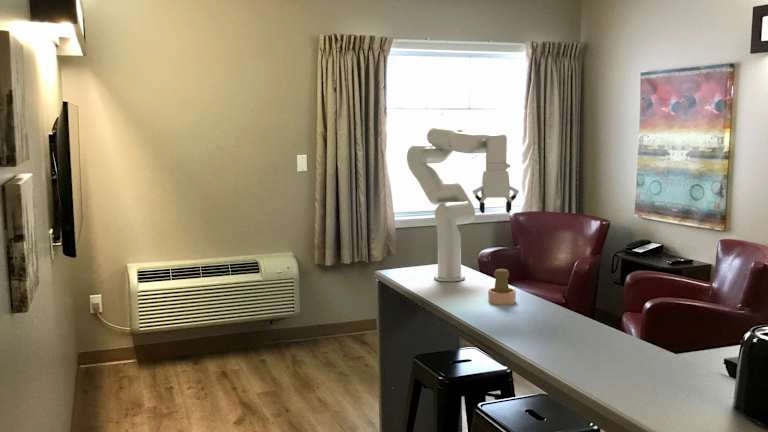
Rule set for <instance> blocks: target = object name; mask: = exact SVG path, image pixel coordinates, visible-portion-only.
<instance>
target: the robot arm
mask: <svg viewBox="0 0 768 432" xmlns="http://www.w3.org/2000/svg"><path fill="white" fill-rule="evenodd" d="M426 139H427V142H428V143H427V142H426V143H425V142H423V143H416V144H414V145H412V146H410V147H409V148H408V149H407V150H408V151H407V154H406V161H407V166H408V168H409V170H410V172H411V174H412V175H413V177H414V178H415V179H416V180H417V182H418V183H419V185H420V187H421V189H422V191H423V193H425V196H426V198H427V200H428V201H429V202H430V203H431V204H432V205H434V206H437V207H436V208H435V210H434V220H435V224H436V230H437V231H436V232H437V274H434V276H433V279H434V280H435V281H439V282H450V283H451V282H460V281H464V280H465V279H466V277H465V276H466V275H464V274H463V273H462V236H461V233H460V230H459V228H458V225H466V224H470V223H472V222H473V221H474V220H475V217H476V209H475V206H474V205H473V203H472V201H471V199H470V198H469V196H468V194H467V193H466V191H465V190H464V189H465V188H463V186H462V185H461V184H460V183H458V182H456V181H452V180H451V181H449V180H448V181H446V180H445V181H444V180H443V179H441V178H440V176H439V175H438V173H437V171H436V170H435V169H434V168H432V167H431V166H429V164H439V163H443V162H444V161H446V160H447V159H448V157H450V156H451V154H452V153H453V152H458V153H463V154H485V170H484V171H483V172H482V179H481V186H479V187H478V188H475V189H474V190H472V194H473V196H474V198H475V199H476V200H477V201H478V202H479V212H480V213H482V214H485V210H486V209H485V208H486V207H485V201H486V199H487V198H489V199H490V198H496V199H499V198H501V199H502V198H503V199H504V198H505V200H506V202H505V213H508V214H510V213H511V211H512V202H513V201H514V200H515V199H516V198H517V196H518V194H519V192H520V191H519V190H518V189H517V188H515V187H513V186H511V184H510V177H509V176H510V174H509V171H508V168H511V164H510V163H507V152H508V150H507V148H508V147H507V146H508V143H507V141H508V138H507V135H506V134H504V133H491V132H486V133H485V132H480V133H478V132H476V133H475V132H474V133H473V132H472V133H471V132H470V133H468V132H467V133H466V132H464V131H463V130H462V129H459V128H457V127H455V126H453V125H452V126H448V125H447V126H435V127H432V128H430V129H429V131H428V132H427V134H426ZM511 191H512V192H513V193H512V195H511ZM479 192H481V193H480V194H481V196H479V194H478V193H479ZM510 195H511V196H510Z"/></svg>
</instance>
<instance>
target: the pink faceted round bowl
mask: <svg viewBox="0 0 768 432" xmlns="http://www.w3.org/2000/svg"><path fill="white" fill-rule="evenodd" d="M494 289H495V287H491V288H489V289H488V294H487V295H488V300H487V301H488V302H489V303H490V304H492V305H500V306H501V305H502V306H503V305H504V306H505V305H513V304H515V303H516V302H517V301H516V300H517V295H516V294H517V290H516V289H514V288H511V287H509V293H496V292H494Z"/></svg>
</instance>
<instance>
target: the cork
mask: <svg viewBox="0 0 768 432" xmlns="http://www.w3.org/2000/svg"><path fill="white" fill-rule="evenodd" d="M493 274H494V278H495V281H494V288H495V289H494V292H496V293H509V288H510V286H509V280H508V278H510V277H509V276H510V272H509V270H508V269H506V268H498V269H495V271H494V273H493Z"/></svg>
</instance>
